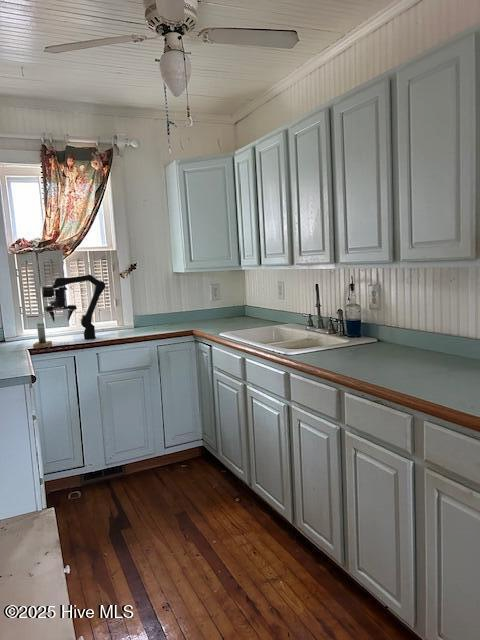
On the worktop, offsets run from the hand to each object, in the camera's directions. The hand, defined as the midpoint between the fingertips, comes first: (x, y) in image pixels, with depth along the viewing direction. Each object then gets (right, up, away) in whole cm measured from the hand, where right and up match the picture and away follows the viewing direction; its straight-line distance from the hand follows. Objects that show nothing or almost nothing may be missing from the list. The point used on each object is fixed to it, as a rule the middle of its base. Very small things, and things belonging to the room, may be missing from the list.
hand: (61, 321), depth 309 cm
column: (-6, -13, -15) cm, 21 cm away
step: (-6, -15, -15) cm, 22 cm away
